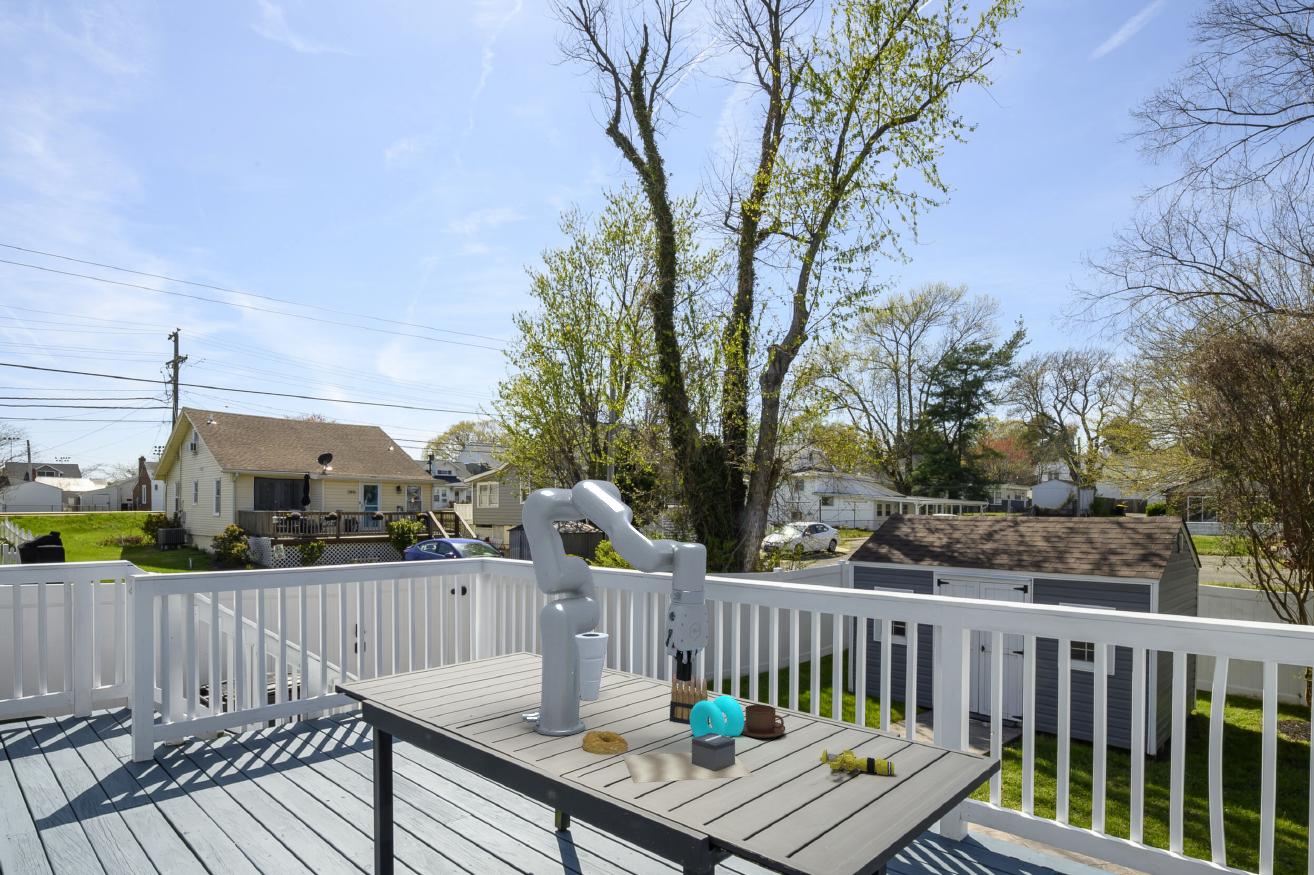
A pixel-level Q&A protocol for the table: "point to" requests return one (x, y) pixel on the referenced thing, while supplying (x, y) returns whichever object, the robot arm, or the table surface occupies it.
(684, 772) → the beige wavy cloth
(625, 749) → the bagel
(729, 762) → the dark grey box
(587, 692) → the cup
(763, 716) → the cup and saucer
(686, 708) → the ammunition clip
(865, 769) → the sprinkler
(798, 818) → the table surface
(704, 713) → the donuts
